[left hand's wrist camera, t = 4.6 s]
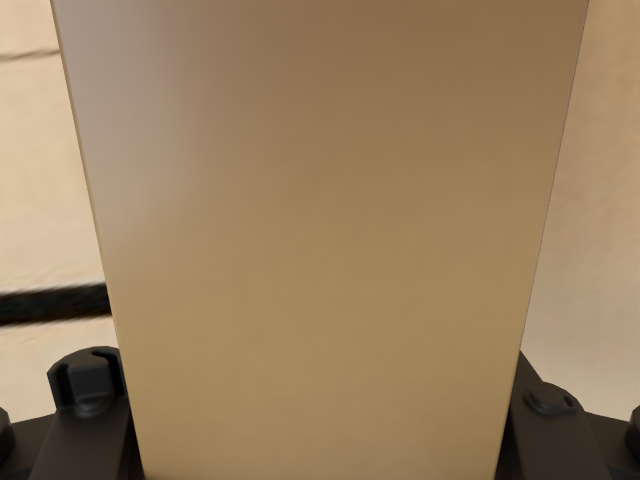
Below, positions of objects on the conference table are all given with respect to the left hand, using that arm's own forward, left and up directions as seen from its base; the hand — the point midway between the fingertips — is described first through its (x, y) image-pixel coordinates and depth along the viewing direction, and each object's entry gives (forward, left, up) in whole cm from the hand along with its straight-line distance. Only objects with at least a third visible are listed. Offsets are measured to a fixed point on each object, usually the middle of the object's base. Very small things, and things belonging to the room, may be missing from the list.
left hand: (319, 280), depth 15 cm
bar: (+7, +4, -1) cm, 8 cm away
